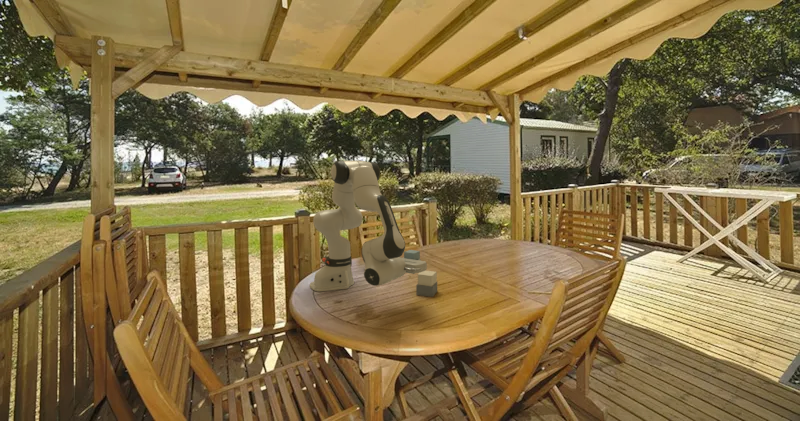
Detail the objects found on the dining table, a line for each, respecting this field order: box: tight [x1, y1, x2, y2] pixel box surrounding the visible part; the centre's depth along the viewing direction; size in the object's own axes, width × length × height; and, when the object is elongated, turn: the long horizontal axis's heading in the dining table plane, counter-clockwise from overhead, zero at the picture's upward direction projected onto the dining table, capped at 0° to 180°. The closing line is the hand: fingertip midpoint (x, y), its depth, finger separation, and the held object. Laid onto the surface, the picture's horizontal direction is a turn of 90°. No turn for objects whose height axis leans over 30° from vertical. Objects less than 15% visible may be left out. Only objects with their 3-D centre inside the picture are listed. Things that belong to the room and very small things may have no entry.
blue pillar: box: [403, 249, 421, 275], centre depth 160 cm, size 5×5×9 cm
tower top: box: [417, 270, 438, 286], centre depth 173 cm, size 7×7×5 cm
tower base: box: [415, 281, 438, 298], centre depth 174 cm, size 8×8×5 cm
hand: (413, 259), depth 160 cm, fingers closed on blue pillar, 5 cm apart
